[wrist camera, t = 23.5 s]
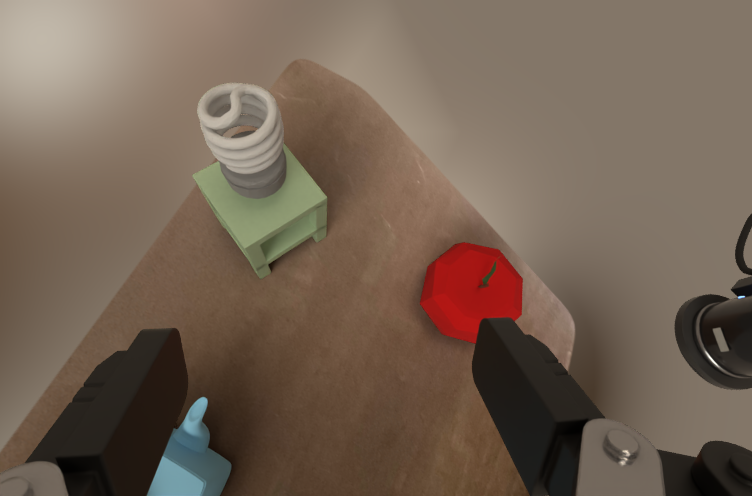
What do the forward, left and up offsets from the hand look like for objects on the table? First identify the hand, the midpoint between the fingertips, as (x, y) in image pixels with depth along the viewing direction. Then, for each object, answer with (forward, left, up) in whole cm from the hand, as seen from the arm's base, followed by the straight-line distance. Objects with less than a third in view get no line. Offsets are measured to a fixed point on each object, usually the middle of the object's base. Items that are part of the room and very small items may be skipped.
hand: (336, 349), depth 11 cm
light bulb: (-5, -18, -23) cm, 29 cm away
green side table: (-5, -18, -33) cm, 38 cm away
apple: (-17, +2, -33) cm, 37 cm away
